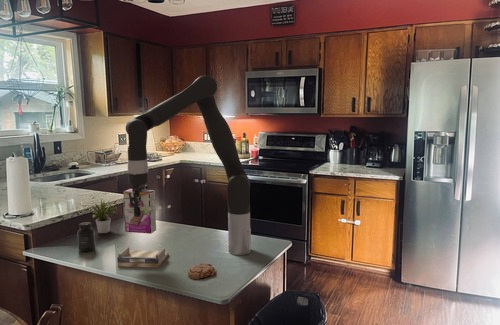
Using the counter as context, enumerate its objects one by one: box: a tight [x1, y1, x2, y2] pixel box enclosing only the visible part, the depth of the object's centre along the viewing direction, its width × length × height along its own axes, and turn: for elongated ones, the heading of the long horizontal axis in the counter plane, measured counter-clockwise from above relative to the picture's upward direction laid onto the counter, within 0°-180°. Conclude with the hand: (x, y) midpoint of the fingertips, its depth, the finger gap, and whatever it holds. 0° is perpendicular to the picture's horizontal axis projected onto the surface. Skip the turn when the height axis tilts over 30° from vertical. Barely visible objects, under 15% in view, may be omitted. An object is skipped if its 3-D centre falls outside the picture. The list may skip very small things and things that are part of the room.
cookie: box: [187, 263, 216, 280], centre depth 140 cm, size 10×11×3 cm
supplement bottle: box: [77, 221, 96, 253], centre depth 164 cm, size 7×7×12 cm
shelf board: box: [116, 246, 169, 268], centre depth 152 cm, size 16×13×4 cm
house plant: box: [88, 199, 117, 234], centre depth 188 cm, size 14×14×16 cm
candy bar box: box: [123, 188, 157, 234], centre depth 148 cm, size 11×5×16 cm, turn 78°
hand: (140, 214), depth 148 cm, fingers closed on candy bar box, 5 cm apart
